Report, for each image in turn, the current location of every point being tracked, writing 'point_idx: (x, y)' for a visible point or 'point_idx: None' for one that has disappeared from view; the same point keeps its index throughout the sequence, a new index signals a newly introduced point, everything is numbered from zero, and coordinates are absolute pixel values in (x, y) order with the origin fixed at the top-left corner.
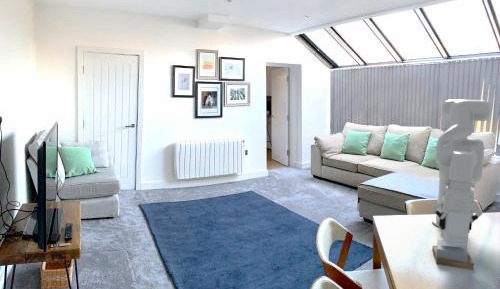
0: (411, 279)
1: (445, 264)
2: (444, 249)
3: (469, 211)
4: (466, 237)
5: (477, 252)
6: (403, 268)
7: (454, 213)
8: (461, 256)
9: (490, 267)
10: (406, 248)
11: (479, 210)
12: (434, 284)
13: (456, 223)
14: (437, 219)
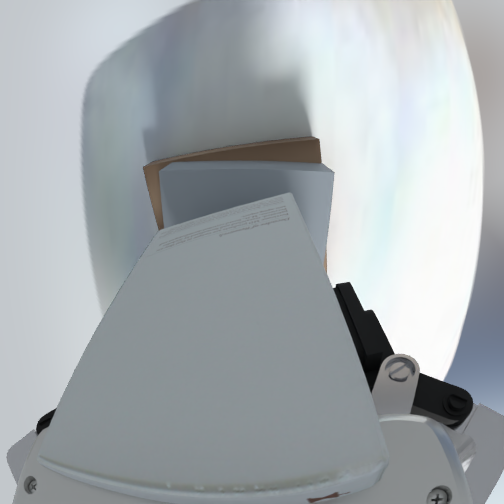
0: None
1: (273, 140)
2: (292, 183)
3: (45, 487)
4: (147, 256)
5: None
6: (434, 45)
7: (275, 461)
8: (195, 165)
9: (99, 226)
10: (418, 247)
11: (15, 480)
12: None
13: (223, 312)
14: None
